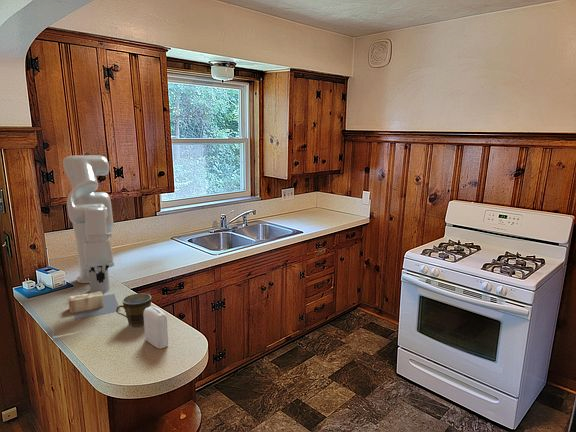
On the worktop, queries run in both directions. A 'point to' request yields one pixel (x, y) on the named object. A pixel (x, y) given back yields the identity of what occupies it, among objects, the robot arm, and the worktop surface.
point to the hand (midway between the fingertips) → (100, 281)
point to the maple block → (85, 302)
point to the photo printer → (155, 327)
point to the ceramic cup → (135, 308)
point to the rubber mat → (109, 307)
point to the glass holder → (95, 284)
